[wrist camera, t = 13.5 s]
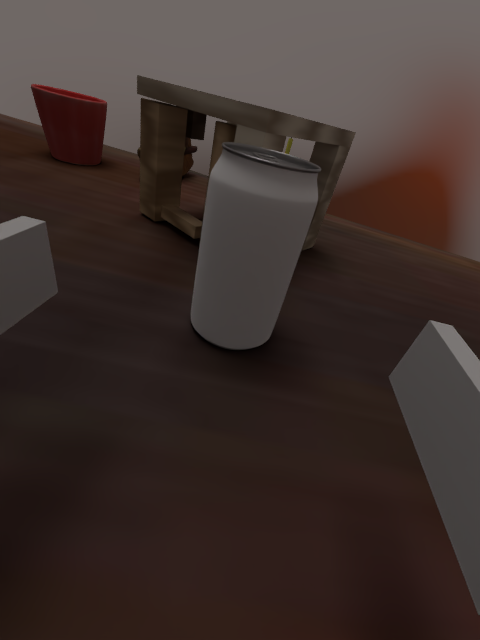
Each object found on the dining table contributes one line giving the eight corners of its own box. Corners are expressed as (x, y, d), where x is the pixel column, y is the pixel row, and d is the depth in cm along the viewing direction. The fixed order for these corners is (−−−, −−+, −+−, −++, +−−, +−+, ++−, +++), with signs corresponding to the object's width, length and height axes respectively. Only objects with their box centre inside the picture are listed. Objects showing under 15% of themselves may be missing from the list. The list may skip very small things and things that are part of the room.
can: (189, 351, 20) (219, 152, 13) (189, 298, 25) (210, 134, 18) (279, 356, 21) (349, 180, 14) (261, 305, 26) (307, 157, 19)
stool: (234, 274, 30) (270, 109, 22) (136, 214, 37) (137, 75, 29) (312, 246, 42) (355, 132, 34) (226, 205, 49) (244, 103, 41)
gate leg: (225, 248, 34) (248, 128, 27) (201, 253, 32) (219, 123, 25) (163, 209, 40) (169, 103, 33) (139, 211, 38) (140, 97, 31)
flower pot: (120, 163, 57) (119, 102, 52) (89, 171, 48) (83, 99, 43) (67, 149, 57) (60, 87, 52) (26, 155, 48) (12, 81, 43)
